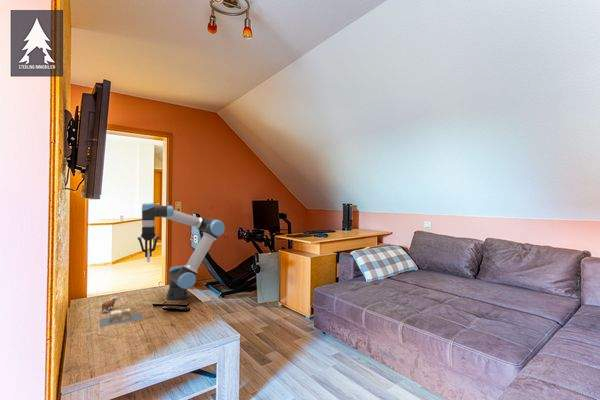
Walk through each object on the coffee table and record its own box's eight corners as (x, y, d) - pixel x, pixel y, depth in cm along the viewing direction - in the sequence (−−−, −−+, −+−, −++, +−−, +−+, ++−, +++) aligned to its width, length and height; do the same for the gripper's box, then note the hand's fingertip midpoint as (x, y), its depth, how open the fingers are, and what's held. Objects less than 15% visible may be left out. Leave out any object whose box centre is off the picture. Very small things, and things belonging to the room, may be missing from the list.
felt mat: (141, 312, 193) (141, 312, 193) (142, 319, 183) (143, 319, 183) (100, 319, 182) (100, 319, 182) (99, 327, 171) (99, 327, 171)
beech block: (129, 308, 187) (110, 311, 181) (130, 310, 182) (110, 314, 177) (129, 316, 187) (110, 319, 181) (130, 319, 182) (110, 322, 177)
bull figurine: (120, 307, 202) (120, 295, 202) (105, 315, 189) (105, 302, 189) (114, 306, 203) (114, 294, 202) (98, 314, 189) (99, 301, 189)
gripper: (158, 225, 205) (158, 259, 205) (136, 226, 197) (136, 261, 198) (160, 226, 199) (160, 261, 199) (137, 227, 191) (137, 264, 192)
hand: (148, 261), depth 199 cm, fingers closed
